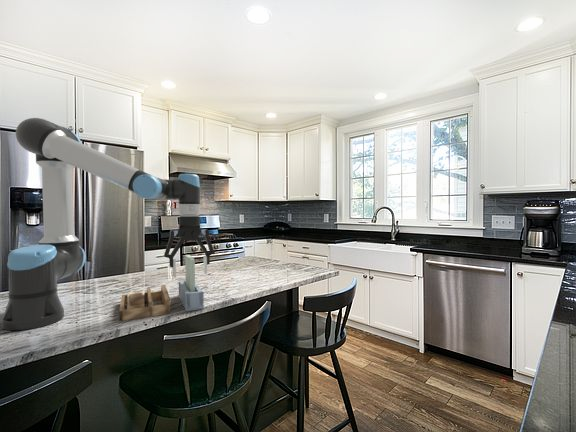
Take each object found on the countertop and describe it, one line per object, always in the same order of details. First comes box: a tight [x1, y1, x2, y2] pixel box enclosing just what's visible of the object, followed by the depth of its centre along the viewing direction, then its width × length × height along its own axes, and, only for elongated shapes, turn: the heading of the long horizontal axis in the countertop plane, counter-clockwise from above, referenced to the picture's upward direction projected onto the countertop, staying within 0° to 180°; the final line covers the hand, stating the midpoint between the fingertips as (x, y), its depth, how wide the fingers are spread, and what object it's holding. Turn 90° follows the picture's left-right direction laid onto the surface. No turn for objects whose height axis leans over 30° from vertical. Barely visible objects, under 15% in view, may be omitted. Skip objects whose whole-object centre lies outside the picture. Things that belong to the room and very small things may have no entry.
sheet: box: [184, 254, 196, 293], centre depth 115 cm, size 2×12×16 cm, turn 26°
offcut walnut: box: [128, 293, 145, 306], centre depth 102 cm, size 4×5×2 cm
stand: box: [178, 280, 205, 312], centre depth 115 cm, size 6×20×6 cm, turn 26°
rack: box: [118, 285, 171, 322], centre depth 108 cm, size 15×20×5 cm
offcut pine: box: [126, 290, 146, 306], centre depth 111 cm, size 5×6×4 cm
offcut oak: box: [126, 301, 145, 309], centre depth 102 cm, size 5×6×4 cm
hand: (190, 274), depth 115 cm, fingers open, 10 cm apart
